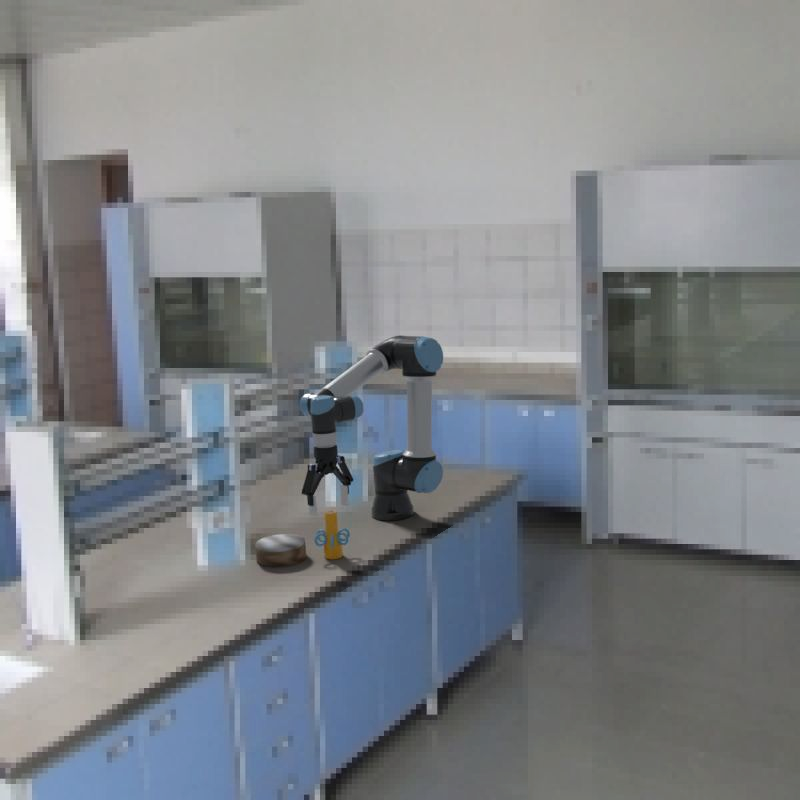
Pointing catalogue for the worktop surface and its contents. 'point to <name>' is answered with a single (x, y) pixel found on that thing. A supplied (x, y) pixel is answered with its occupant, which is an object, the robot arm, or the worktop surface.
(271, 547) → the pedestal
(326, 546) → the orange upright piece
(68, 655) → the worktop surface
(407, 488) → the robot arm
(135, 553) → the worktop surface
